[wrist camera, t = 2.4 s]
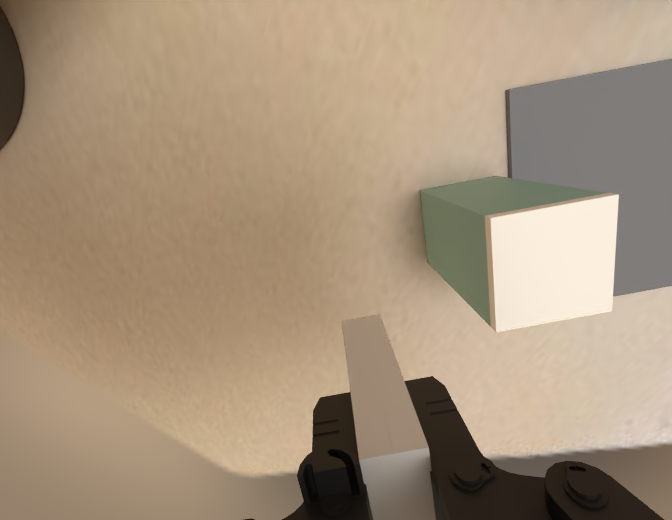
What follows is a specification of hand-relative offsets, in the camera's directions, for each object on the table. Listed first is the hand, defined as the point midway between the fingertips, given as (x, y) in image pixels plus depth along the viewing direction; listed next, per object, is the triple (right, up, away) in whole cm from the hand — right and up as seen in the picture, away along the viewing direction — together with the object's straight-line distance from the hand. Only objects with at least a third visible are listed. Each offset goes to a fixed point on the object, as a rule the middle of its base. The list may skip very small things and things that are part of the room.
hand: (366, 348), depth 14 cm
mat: (+22, +9, +15) cm, 28 cm away
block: (+9, +7, +15) cm, 18 cm away
